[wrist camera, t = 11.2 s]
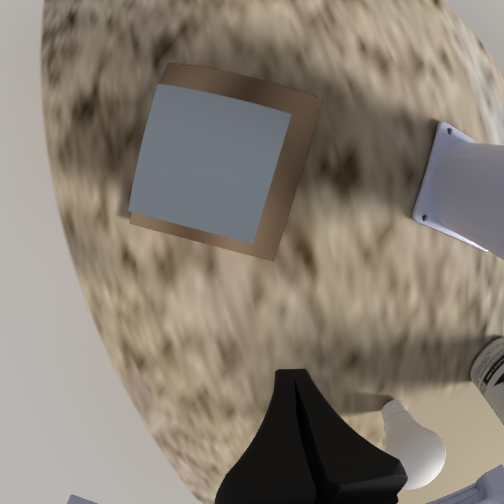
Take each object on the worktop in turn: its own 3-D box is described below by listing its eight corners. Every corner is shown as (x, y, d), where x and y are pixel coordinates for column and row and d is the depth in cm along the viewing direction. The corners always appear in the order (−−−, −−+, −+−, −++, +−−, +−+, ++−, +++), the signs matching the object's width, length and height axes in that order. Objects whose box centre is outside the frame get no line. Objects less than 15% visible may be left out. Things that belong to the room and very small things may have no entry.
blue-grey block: (278, 126, 17) (291, 114, 11) (253, 212, 19) (252, 244, 13) (189, 104, 17) (157, 83, 11) (167, 189, 19) (128, 211, 12)
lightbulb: (412, 410, 27) (446, 483, 17) (362, 427, 28) (387, 506, 17) (417, 375, 25) (463, 454, 15) (362, 393, 26) (395, 483, 16)
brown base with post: (319, 101, 18) (345, 84, 12) (272, 255, 21) (279, 294, 16) (172, 66, 17) (143, 39, 11) (136, 219, 20) (97, 245, 15)
